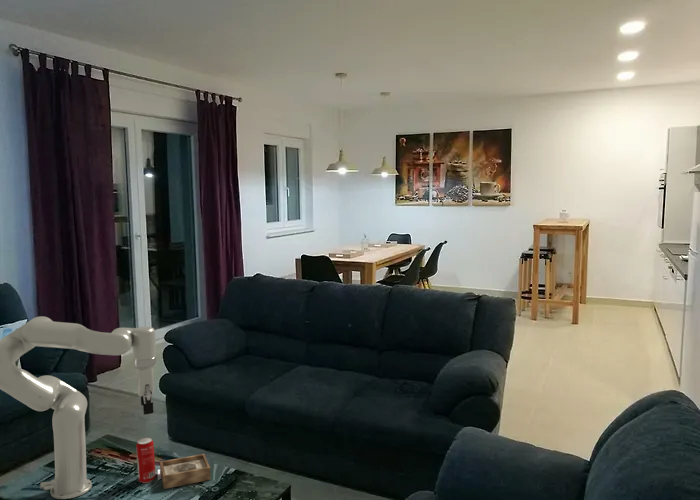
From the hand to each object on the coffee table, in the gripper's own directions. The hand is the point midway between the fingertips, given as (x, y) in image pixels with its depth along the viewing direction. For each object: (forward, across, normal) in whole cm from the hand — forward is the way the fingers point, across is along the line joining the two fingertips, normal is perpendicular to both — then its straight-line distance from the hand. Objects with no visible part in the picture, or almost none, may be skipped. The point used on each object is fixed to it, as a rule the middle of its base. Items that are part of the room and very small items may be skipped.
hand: (147, 409), depth 192 cm
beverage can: (+26, +1, -1) cm, 26 cm away
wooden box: (+26, +4, +12) cm, 29 cm away
